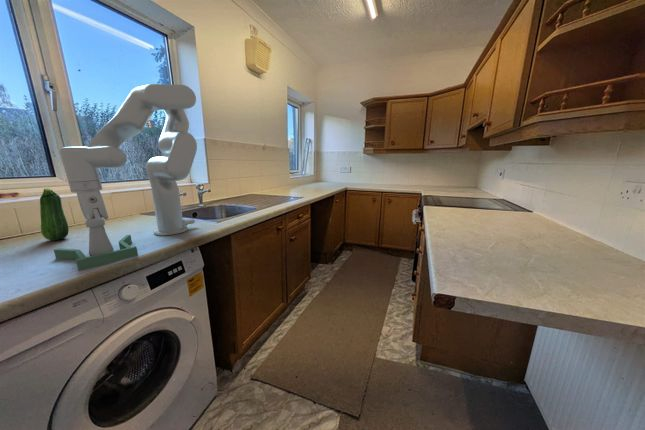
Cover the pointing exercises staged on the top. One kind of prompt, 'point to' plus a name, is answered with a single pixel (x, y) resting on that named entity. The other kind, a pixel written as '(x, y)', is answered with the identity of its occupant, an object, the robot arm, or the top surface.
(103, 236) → the salt shaker
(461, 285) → the top surface
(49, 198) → the vegetable
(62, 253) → the green angled channel piece
